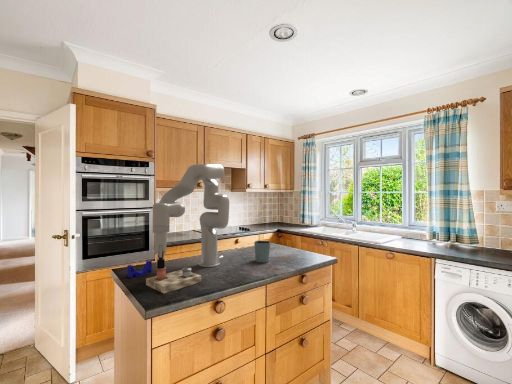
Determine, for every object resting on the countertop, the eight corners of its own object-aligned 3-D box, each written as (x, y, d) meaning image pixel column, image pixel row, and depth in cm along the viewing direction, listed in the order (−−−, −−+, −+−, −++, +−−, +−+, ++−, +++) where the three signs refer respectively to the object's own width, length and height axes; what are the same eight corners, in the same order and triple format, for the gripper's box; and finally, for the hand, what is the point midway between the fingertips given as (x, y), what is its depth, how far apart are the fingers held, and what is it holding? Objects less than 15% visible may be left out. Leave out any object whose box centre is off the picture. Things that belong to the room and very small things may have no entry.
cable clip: (131, 278, 137) (131, 266, 137) (127, 276, 140) (127, 265, 140) (153, 272, 147) (153, 261, 147) (148, 271, 149) (148, 260, 149)
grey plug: (187, 279, 135) (187, 266, 135) (193, 281, 132) (193, 268, 132) (179, 281, 131) (179, 268, 131) (185, 283, 128) (185, 270, 128)
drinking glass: (251, 260, 172) (251, 241, 172) (262, 257, 179) (262, 239, 178) (261, 263, 164) (262, 244, 164) (273, 260, 171) (273, 241, 171)
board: (182, 274, 142) (182, 269, 142) (201, 281, 132) (201, 275, 132) (146, 284, 127) (146, 278, 127) (163, 293, 117) (163, 286, 117)
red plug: (163, 278, 131) (163, 265, 131) (168, 280, 128) (168, 267, 128) (154, 281, 128) (154, 267, 128) (159, 283, 125) (159, 269, 125)
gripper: (153, 227, 134) (153, 264, 134) (151, 231, 119) (151, 273, 119) (169, 226, 136) (169, 263, 136) (169, 231, 122) (169, 271, 122)
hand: (160, 267), depth 128 cm, fingers closed
